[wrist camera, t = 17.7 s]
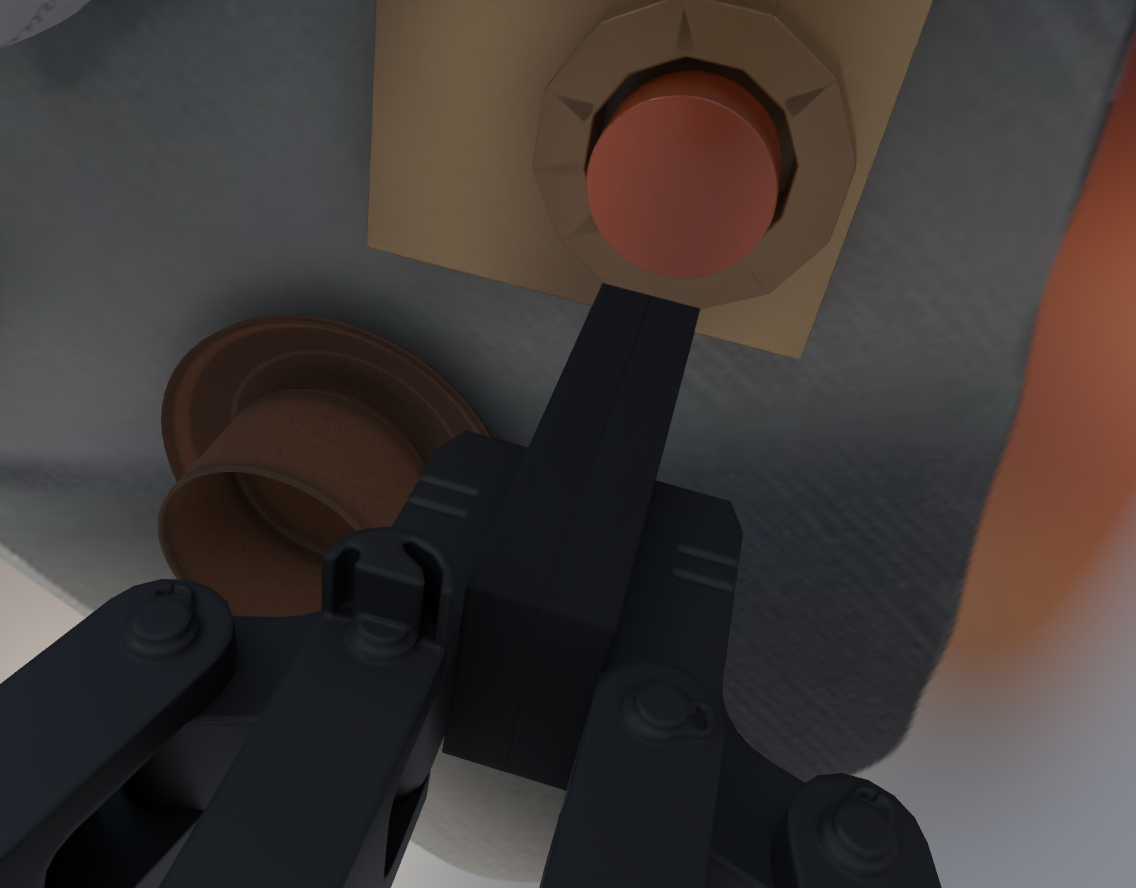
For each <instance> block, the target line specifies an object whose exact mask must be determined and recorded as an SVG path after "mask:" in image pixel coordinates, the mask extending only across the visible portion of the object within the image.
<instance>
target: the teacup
mask: <svg viewBox="0 0 1136 888" xmlns="http://www.w3.org/2000/svg"><path fill="white" fill-rule="evenodd" d="M89 1H90V0H0V49H2V48H4V47H7V46H10V45H12V44H15V43H17V42H20V41H22V40H25V39H27V38H30V37H32V36H35V35H37V34H39V33H41V32H43V31H45V30H47V29H49V28H51V27H53V26H55V25H57V24H59V23H60V22H62V21H64V20H65V19H67V18H69V17H70V16H72V15H73V14H75V13H76V12H77V11H79V10H80V9H81V8H82V7H83V6H85V5H86V4H87V3H88V2H89Z"/></svg>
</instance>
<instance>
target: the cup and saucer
mask: <svg viewBox="0 0 1136 888" xmlns="http://www.w3.org/2000/svg"><path fill="white" fill-rule="evenodd" d="M161 423H162V435H163V441H164V447H165V450H166V454H167V457H168V461H169V464H170V466H171V469H172V471H173V474H174V476H175V478H176V480H177V483H176V484H175V485H174V487H173V488H172V489H171V490H170V491H169V493H168V494H167V495H166V497H165V499H164V501H163V503H162V505H161V508H160V511H159V516H158V536H159V541H160V545H161V548H162V551H163V554H164V557H165V559H166V561H167V563H168V565H169V567H170V569H171V570H172V572H173V574H174V575H175V577H176V578H177V580H190V581H193V582H196V583H199V584H202V585H205V586H208V587H211V588H212V589H213V590H215V591H216V592H217V593H218V594H219V595H220V596H222V597H223V598H224V599H225V600H226V601H227V602H228V604H229V607H230V610H231V612H232V615H233V616H258V617H286V616H301V615H305V614H309V613H313V612H317V611H320V610H321V602H322V555H323V554H324V553H325V552H326V551H327V550H328V549H329V548H330V547H331V546H332V545H333V544H334V543H335V542H336V541H337V540H339V539H341V538H343V537H345V536H347V535H350V534H352V533H354V532H356V531H358V530H362V529H369V528H377V527H385V526H387V527H392V525H393V524H394V522H395V520H396V518H397V517H398V515H399V513H400V512H401V510H402V508H403V506H404V505H405V503H406V502H408V499H409V496H410V494H411V492H412V491H413V489H414V487H415V486H416V484H417V482H418V480H419V481H420V479H421V475H422V473H423V472H424V470H425V468H426V466H427V465H428V463H429V461H430V459H431V458H432V456H433V454H434V453H435V451H436V449H437V448H439V447H440V446H442V445H443V444H445V443H446V442H448V441H449V440H451V439H452V438H454V437H456V436H457V435H459V434H460V433H462V432H463V431H465V430H466V431H470V432H473V433H477V434H480V435H484V436H488V437H490V436H489V434H488V432H487V431H486V429H485V427H484V426H483V424H482V423H481V421H480V419H479V418H478V416H477V415H476V414H475V412H474V411H473V410H472V408H471V407H470V406H469V404H468V403H467V402H466V401H465V400H464V399H463V398H462V396H461V395H460V394H459V393H458V392H457V391H456V390H455V389H454V388H453V387H452V386H451V385H450V384H449V383H448V382H447V381H446V380H445V379H444V378H443V377H442V376H440V375H439V374H438V373H437V372H435V371H434V370H433V369H432V368H431V367H429V366H428V365H427V364H425V363H424V362H423V361H421V360H420V359H418V358H417V357H415V356H414V355H413V354H411V353H409V352H408V351H406V350H404V349H403V348H401V347H399V346H398V345H396V344H394V343H392V342H390V341H388V340H386V339H384V338H382V337H380V336H378V335H376V334H373V333H371V332H368V331H366V330H363V329H361V328H358V327H355V326H352V325H348V324H345V323H342V322H338V321H334V320H329V319H325V318H319V317H311V316H304V315H275V316H265V317H259V318H253V319H249V320H246V321H242V322H239V323H236V324H233V325H231V326H229V327H226V328H224V329H222V330H220V331H218V332H216V333H214V334H212V335H211V336H209V337H207V338H205V339H204V340H202V341H201V342H200V343H199V344H197V345H196V346H195V347H193V348H192V349H191V350H190V351H189V352H188V353H187V354H186V355H185V356H184V357H183V358H182V360H181V361H180V363H179V364H178V365H177V367H176V368H175V370H174V372H173V374H172V376H171V378H170V380H169V382H168V385H167V388H166V391H165V394H164V399H163V404H162V416H161Z"/></svg>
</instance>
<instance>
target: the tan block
mask: <svg viewBox="0 0 1136 888" xmlns="http://www.w3.org/2000/svg"><path fill="white" fill-rule="evenodd" d="M932 2H933V0H376V25H375V50H374V76H373V101H372V127H371V152H370V178H369V204H368V229H367V247H369V248H372V249H376V250H380V251H384V252H388V253H392V254H396V255H399V256H403V257H407V258H411V259H415V260H419V261H422V262H426V263H430V264H434V265H438V266H442V267H446V268H449V269H453V270H457V271H461V272H465V273H469V274H473V275H476V276H480V277H484V278H488V279H492V280H496V281H499V282H503V283H507V284H511V285H515V286H519V287H523V288H526V289H530V290H534V291H538V292H542V293H546V294H550V295H553V296H557V297H561V298H565V299H569V300H573V301H577V302H580V303H584V304H588V305H593V303H594V301H595V298H596V296H597V294H598V292H599V289H600V287H601V285H602V283H605V284H609V285H613V286H617V287H621V288H624V289H628V290H632V291H636V292H640V293H643V294H647V295H651V296H655V297H659V298H663V299H666V300H670V301H674V302H678V303H682V304H685V305H689V306H693V307H697V308H701V309H700V312H699V316H698V320H697V324H696V328H695V332H696V333H700V334H704V335H707V336H711V337H715V338H719V339H723V340H727V341H731V342H734V343H738V344H742V345H746V346H750V347H754V348H757V349H761V350H765V351H769V352H773V353H777V354H781V355H784V356H788V357H792V358H796V359H800V358H801V357H802V354H803V351H804V349H805V346H806V343H807V340H808V338H809V335H810V332H811V330H812V327H813V324H814V321H815V319H816V316H817V313H818V311H819V308H820V305H821V303H822V300H823V297H824V294H825V292H826V289H827V286H828V284H829V281H830V278H831V275H832V273H833V270H834V267H835V265H836V262H837V259H838V257H839V254H840V251H841V248H842V246H843V243H844V240H845V238H846V235H847V232H848V229H849V227H850V224H851V221H852V219H853V216H854V213H855V211H856V208H857V205H858V202H859V200H860V197H861V194H862V192H863V189H864V186H865V183H866V181H867V178H868V175H869V173H870V170H871V167H872V165H873V162H874V159H875V156H876V154H877V151H878V148H879V146H880V143H881V140H882V137H883V135H884V132H885V129H886V127H887V124H888V121H889V119H890V116H891V113H892V110H893V108H894V105H895V102H896V100H897V97H898V94H899V91H900V89H901V86H902V83H903V81H904V78H905V75H906V73H907V70H908V67H909V64H910V62H911V59H912V56H913V54H914V51H915V48H916V45H917V43H918V40H919V37H920V35H921V32H922V29H923V27H924V24H925V21H926V18H927V16H928V13H929V10H930V8H931V5H932ZM687 70H689V71H704V72H710V73H714V74H717V75H721V76H724V77H726V78H728V79H730V80H732V81H735V82H736V83H738V84H740V85H741V86H743V87H744V88H746V89H747V90H748V91H749V92H750V93H752V94H753V95H754V96H755V97H756V98H757V99H758V100H759V101H760V102H761V104H762V105H763V106H764V107H765V109H766V110H767V112H768V113H769V115H770V116H771V118H772V121H773V123H774V125H775V127H776V130H777V133H778V136H779V139H780V145H781V151H782V167H781V176H780V183H779V190H778V197H777V204H776V208H775V212H774V216H773V218H772V221H771V223H770V226H769V228H768V229H767V231H766V233H765V235H764V237H763V238H762V239H761V241H760V242H759V243H758V245H757V246H756V247H755V248H754V249H753V250H752V251H751V252H750V253H749V254H748V255H747V256H746V257H744V258H743V259H742V260H740V261H739V262H738V263H736V264H734V265H733V266H731V267H729V268H727V269H725V270H723V271H720V272H718V273H715V274H712V275H708V276H704V277H698V278H687V279H679V278H669V277H664V276H659V275H656V274H652V273H649V272H647V271H645V270H642V269H640V268H638V267H636V266H634V265H633V264H631V263H630V262H628V261H626V260H625V259H624V258H623V257H621V256H620V255H619V254H618V253H617V252H616V251H615V250H614V249H613V248H612V247H611V246H610V245H609V244H608V243H607V241H606V240H605V239H604V238H603V236H602V235H601V233H600V231H599V230H598V228H597V226H596V224H595V222H594V219H593V217H592V215H591V211H590V208H589V204H588V199H587V192H586V178H587V169H588V165H589V161H590V157H591V154H592V152H593V149H594V147H595V145H596V143H597V141H598V140H599V138H600V136H601V134H602V133H603V131H604V129H605V127H606V126H607V124H608V122H609V121H610V119H611V117H612V115H613V114H614V112H615V110H616V109H617V108H618V106H619V105H620V104H621V102H622V101H623V100H624V99H625V98H626V97H627V96H628V95H629V94H630V93H631V92H632V91H634V90H635V89H636V88H638V87H639V86H640V85H642V84H644V83H646V82H647V81H649V80H651V79H653V78H656V77H658V76H661V75H664V74H668V73H672V72H677V71H687Z"/></svg>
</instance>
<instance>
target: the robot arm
mask: <svg viewBox="0 0 1136 888" xmlns="http://www.w3.org/2000/svg"><path fill="white" fill-rule="evenodd" d="M700 309H701V308H697V307H693V306H689V305H685V304H682V303H678V302H674V301H670V300H666V299H663V298H659V297H655V296H651V295H647V294H643V293H640V292H636V291H632V290H628V289H624V288H621V287H617V286H613V285H609V284H605V283H602V285H601V287H600V289H599V292H598V294H597V296H596V298H595V301H594V303H593V305H592V307H591V309H590V312H589V314H588V316H587V318H586V321H585V323H584V325H583V327H582V329H581V332H580V334H579V336H578V338H577V341H576V343H575V345H574V347H573V349H572V352H571V354H570V356H569V358H568V361H567V363H566V365H565V367H564V369H563V372H562V374H561V376H560V378H559V381H558V383H557V385H556V387H555V389H554V392H553V394H552V396H551V398H550V401H549V403H548V405H547V407H546V409H545V412H544V414H543V416H542V418H541V421H540V423H539V425H538V427H537V429H536V432H535V434H534V436H533V438H532V441H531V443H530V445H529V447H528V448H527V447H523V446H520V445H516V444H513V443H509V442H505V441H502V440H498V439H495V438H491V437H488V436H484V435H480V434H477V433H473V432H470V431H466V430H465V431H463V432H462V433H460V434H459V435H457V436H456V437H454V438H452V439H451V440H449V441H448V442H446V443H445V444H443V445H442V446H440V447H439V448H437V449H436V451H435V453H434V454H433V456H432V458H431V459H430V461H429V463H428V465H427V466H426V468H425V470H424V472H423V473H422V475H421V479H420V481H419V480H418V482H417V484H416V486H415V487H414V489H413V491H412V492H411V494H410V496H409V499H408V502H406V503H405V505H404V506H403V508H402V510H401V512H400V513H399V515H398V517H397V518H396V520H395V522H394V524H393V525H392V527H387V526H385V527H377V528H369V529H362V530H358V531H356V532H354V533H352V534H350V535H347V536H345V537H343V538H341V539H339V540H337V541H336V542H335V543H334V544H333V545H332V546H331V547H330V548H329V549H328V550H327V551H326V552H325V553H324V554H323V555H322V602H321V610H320V611H317V612H313V613H309V614H305V615H301V616H286V617H258V616H233V615H232V612H231V610H230V607H229V604H228V602H227V601H226V600H225V599H224V598H223V597H222V596H220V595H219V594H218V593H217V592H216V591H215V590H213V589H212V588H211V587H208V586H205V585H202V584H199V583H196V582H193V581H190V580H174V579H160V580H156V581H152V582H148V583H144V584H140V585H136V586H133V587H131V588H129V589H128V590H126V591H124V592H122V593H120V594H119V595H117V596H115V597H113V598H111V599H110V600H109V601H107V602H106V603H105V604H103V605H102V606H101V607H99V608H98V609H97V610H96V611H94V612H93V613H92V614H90V615H89V616H88V617H87V618H85V619H84V620H83V621H81V622H80V623H79V624H77V625H76V626H75V627H74V628H72V629H71V630H70V631H68V632H67V633H66V634H65V635H63V636H62V637H61V638H59V639H58V640H57V641H55V642H54V643H53V644H52V645H50V646H49V647H48V648H46V649H45V650H44V651H42V652H41V653H40V654H39V655H37V656H36V657H35V658H33V659H32V660H31V661H29V662H28V663H27V664H26V665H24V666H23V667H22V668H20V669H19V670H18V671H17V672H15V673H14V674H13V675H12V676H10V677H9V678H7V679H6V680H5V681H4V682H2V683H1V684H0V888H391V886H392V883H393V881H394V878H395V876H396V873H397V871H398V868H399V865H400V863H401V860H402V858H403V855H404V853H405V850H406V848H407V845H408V842H409V840H410V838H411V835H412V833H413V830H414V827H415V825H416V822H417V820H418V817H419V815H420V812H421V810H422V807H423V805H424V802H425V800H426V796H427V790H428V784H429V778H430V770H431V767H432V765H433V762H434V760H435V757H436V755H437V752H438V750H439V747H440V745H441V742H442V740H443V737H444V743H443V750H442V752H443V753H446V754H449V755H452V756H456V757H459V758H462V759H465V760H469V761H472V762H475V763H478V764H482V765H485V766H488V767H491V768H495V769H498V770H501V771H504V772H508V773H511V774H514V775H517V776H521V777H524V778H527V779H530V780H534V781H537V782H540V783H543V784H547V785H550V786H553V787H556V788H560V789H563V790H566V793H565V797H564V801H563V805H562V808H561V812H560V815H559V819H558V822H557V826H556V829H555V833H554V836H553V840H552V843H551V847H550V850H549V854H548V857H547V861H546V864H545V868H544V871H543V877H542V880H541V884H540V888H941V884H940V882H939V878H938V875H937V872H936V869H935V865H934V862H933V859H932V855H931V852H930V849H929V846H928V843H927V841H926V839H925V837H924V835H923V833H922V831H921V829H920V827H919V825H918V823H917V821H916V819H915V818H914V816H913V815H912V814H911V813H909V811H908V810H907V809H906V808H905V807H904V806H903V805H902V804H901V803H900V801H899V800H898V799H897V798H896V797H895V796H894V795H892V794H890V793H889V792H887V791H885V790H884V789H882V788H881V787H879V786H877V785H875V784H874V783H872V782H871V781H869V780H866V779H862V778H858V777H855V776H851V775H847V774H843V773H839V774H829V775H818V776H816V777H815V778H813V779H811V780H810V781H808V782H806V783H804V782H802V781H801V780H799V779H798V778H796V777H794V776H793V775H791V774H790V773H788V772H786V771H785V770H783V769H782V768H780V767H778V766H777V765H775V764H774V763H772V762H770V761H769V760H768V759H766V758H765V757H764V756H762V755H761V754H760V753H758V752H757V751H756V750H754V749H753V748H752V747H751V746H750V745H749V744H748V743H747V742H746V741H745V740H744V739H743V737H742V736H741V735H740V734H739V733H738V732H737V730H736V728H735V727H734V725H733V723H732V722H731V720H730V718H729V716H728V714H727V711H726V708H725V704H724V701H723V688H722V682H723V675H724V667H725V660H726V653H727V645H728V638H729V631H730V624H731V616H732V609H733V602H734V594H735V593H734V590H735V587H736V580H737V572H738V568H737V567H738V564H739V558H740V550H741V543H742V536H743V531H742V529H741V526H740V524H739V521H738V519H737V516H736V514H735V511H734V509H733V506H732V504H731V501H727V500H723V499H720V498H716V497H713V496H709V495H705V494H702V493H698V492H695V491H691V490H688V489H684V488H680V487H677V486H673V485H670V484H666V483H662V482H659V481H655V480H656V477H657V473H658V469H659V465H660V461H661V457H662V454H663V450H664V446H665V442H666V438H667V435H668V431H669V427H670V423H671V419H672V415H673V412H674V408H675V404H676V400H677V396H678V393H679V389H680V385H681V381H682V377H683V373H684V370H685V366H686V362H687V358H688V354H689V351H690V347H691V343H692V339H693V335H694V332H695V328H696V324H697V320H698V316H699V312H700ZM444 735H445V736H444Z"/></svg>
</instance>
